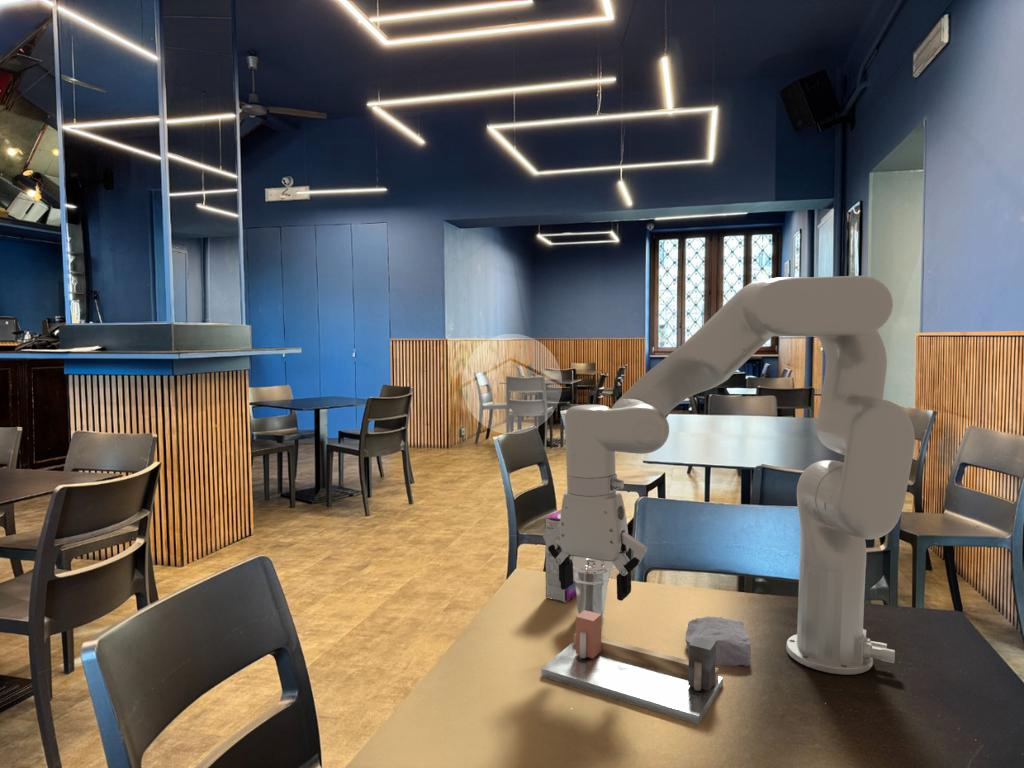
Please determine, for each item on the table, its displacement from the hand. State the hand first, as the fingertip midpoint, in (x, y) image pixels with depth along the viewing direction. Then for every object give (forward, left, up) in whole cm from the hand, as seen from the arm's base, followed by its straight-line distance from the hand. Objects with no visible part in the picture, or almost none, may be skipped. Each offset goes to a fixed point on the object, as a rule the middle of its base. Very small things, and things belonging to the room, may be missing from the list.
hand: (594, 592), depth 107 cm
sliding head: (+1, +1, -10) cm, 10 cm away
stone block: (-15, -15, -12) cm, 24 cm away
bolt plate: (-7, +3, -11) cm, 14 cm away
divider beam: (-7, 0, -10) cm, 12 cm away
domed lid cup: (+8, -14, -12) cm, 20 cm away
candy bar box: (+17, -23, -12) cm, 31 cm away
